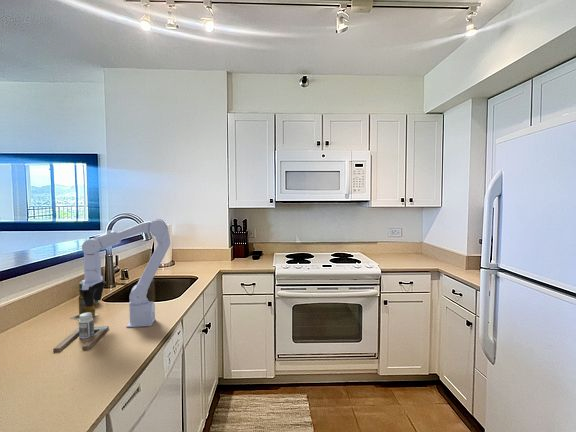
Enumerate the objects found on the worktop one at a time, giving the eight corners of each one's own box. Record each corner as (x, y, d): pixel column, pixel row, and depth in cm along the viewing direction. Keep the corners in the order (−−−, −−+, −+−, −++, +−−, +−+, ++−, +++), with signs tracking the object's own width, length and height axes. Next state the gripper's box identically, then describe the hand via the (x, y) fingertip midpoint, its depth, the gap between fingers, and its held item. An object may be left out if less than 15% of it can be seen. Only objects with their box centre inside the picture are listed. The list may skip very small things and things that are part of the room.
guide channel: (105, 332, 127) (105, 328, 127) (88, 349, 112) (88, 346, 112) (74, 333, 125) (74, 330, 125) (53, 352, 110) (53, 348, 110)
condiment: (99, 314, 146) (99, 288, 146) (81, 320, 138) (80, 293, 138) (88, 312, 149) (88, 286, 148) (70, 318, 141) (69, 291, 141)
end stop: (108, 329, 130) (108, 326, 129) (105, 332, 127) (105, 328, 127) (78, 330, 128) (78, 327, 128) (74, 333, 125) (74, 330, 125)
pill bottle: (90, 332, 126) (89, 311, 126) (96, 335, 123) (95, 313, 123) (76, 336, 122) (76, 314, 122) (82, 339, 120) (81, 317, 119)
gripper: (89, 265, 135) (90, 298, 136) (72, 273, 121) (73, 309, 121) (108, 265, 136) (108, 297, 137) (93, 272, 122) (94, 308, 122)
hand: (93, 303), depth 129 cm, fingers open, 7 cm apart
